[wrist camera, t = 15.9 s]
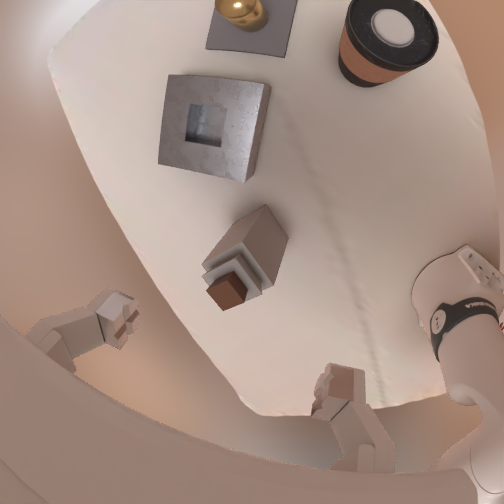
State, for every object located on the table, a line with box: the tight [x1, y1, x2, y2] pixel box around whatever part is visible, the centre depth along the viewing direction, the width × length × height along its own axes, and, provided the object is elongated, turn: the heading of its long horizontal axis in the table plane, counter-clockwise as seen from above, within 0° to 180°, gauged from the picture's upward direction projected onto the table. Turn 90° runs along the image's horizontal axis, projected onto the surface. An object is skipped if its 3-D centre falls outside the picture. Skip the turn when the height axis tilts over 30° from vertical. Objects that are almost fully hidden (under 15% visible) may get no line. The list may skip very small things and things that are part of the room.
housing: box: [158, 75, 271, 183], centre depth 37 cm, size 14×14×5 cm
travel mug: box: [339, 0, 439, 87], centre depth 21 cm, size 8×8×20 cm
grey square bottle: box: [201, 205, 289, 311], centre depth 39 cm, size 7×7×18 cm
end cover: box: [215, 0, 269, 32], centre depth 26 cm, size 5×5×8 cm
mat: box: [205, 0, 297, 58], centre depth 29 cm, size 12×12×1 cm
